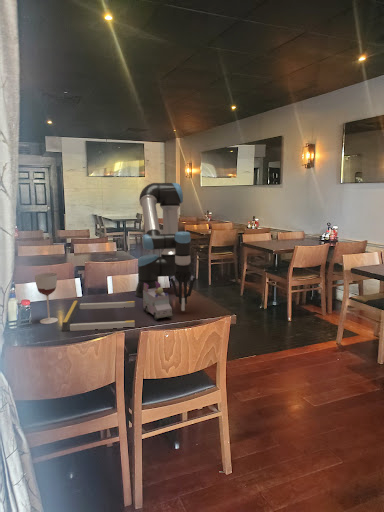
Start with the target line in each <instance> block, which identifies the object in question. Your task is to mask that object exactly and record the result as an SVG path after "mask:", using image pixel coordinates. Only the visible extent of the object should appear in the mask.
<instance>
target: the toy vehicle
mask: <svg viewBox="0 0 384 512" xmlns="http://www.w3.org/2000/svg"><path fill="white" fill-rule="evenodd" d="M158 282H159V281H158ZM158 282H156V281H155V283H156V287H155V288H153V289H148V286H149V285H147V284H146V283H144V290H143V298H142V303H143V305H142V307H143V308H144V311H145V312H146V313H147V314H149V313H150V314H151V315H153V318H154V320H155V321H157V320H160V319H162V318H167V319H169V318H170V317H172V316H173V308H172V306H171V305H170V304H171V299H169V293H168V292H164V288H163V287H161V283H160V282H159V283H158Z"/></svg>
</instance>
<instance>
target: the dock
mask: <svg viewBox="0 0 384 512" xmlns="http://www.w3.org/2000/svg"><path fill="white" fill-rule="evenodd" d="M135 302H136V301H135V300H131V301H130V300H129V301H117V302H115V301H112V302H109V301H108V302H89V303H87V302H86V303H80V304H79V300H74V301H73V302H72V303H71V306H70V308H69V310H68V312H67V314H66V316H65V318H64V319H63V320H62V332H68V331H69V332H74V331H75V332H76V331H95V329H98V330H111V329H112V330H114V329H113V328H117V329H124V328H123V327H135V325H136V323H135V320H134V319H133V320H124V321H101V322H100V321H99V322H79V323H73V321H74V318H75V316H76V314H77V313H78V310H97V309H98V310H99V309H121V308H122V309H123V308H124V307H125V308H135V307H136V303H135Z"/></svg>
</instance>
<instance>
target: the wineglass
mask: <svg viewBox="0 0 384 512" xmlns="http://www.w3.org/2000/svg"><path fill="white" fill-rule="evenodd" d="M34 280H35V284H36V289H37V291H38V292H39V294H41V295H44V296H46V307H47V317H46V318H43V319H40V320H39V323H41V324H43V325H44V324H46V325H48V324H53V323H56V322H59V318H56V317H51V316H50V315H51V314H50V301H49V300H50V299H49V295H51V294H54V292H55V291H56V289H57V283H58V275H57V273H54V272H45V273H40V274H36V275H34Z"/></svg>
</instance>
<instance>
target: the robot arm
mask: <svg viewBox="0 0 384 512" xmlns="http://www.w3.org/2000/svg"><path fill="white" fill-rule="evenodd" d="M138 199H139V205H140V206H141V209H142V217H143V224H144V232H145V234H143V235H142V239H141V240H142V248H143V249H144V250H149V251H150V250H163V251H162V252H160V253H161V255H160V256H159V255H158V254H156V253H155V254H152V253H150V254H144V255H142V256H140V257H138V259H137V280H138V281H137V284H136V288H135V293H134V294H135V296H136V297H138V298H142V299H143V290H144V283H146V284H147V285H149V286H148V289H153V288H155V287H156V283H155V281H156V282H158V283H160V282H159V277H161V278H162V277H169V279H170V282H171V285H172V287H173V291H174V295H175V297H176V298H178V303H179V305H180V310H181V311H182V312H185V311H186V308H185V307H186V304H187V303H188V298H189V297H191V295H192V292H193V287H194V283H195V281H196V279H197V278H196V277H195V276H194V275H192V273H191V243H192V242H191V240H192V238H191V233H190V232H189V231H179V221H178V220H179V217H178V212H179V211H178V210H179V209H180V207H181V204H183V202H184V195H183V189H182V186H181V184H179V183H176V182H151V183H149V184H147V185H146V186H145V187H144V188H143V189H142V190H141V192H140V194H139V198H138ZM157 204H159V208H161V209H162V225H163V226H162V231H163V232H162V233H161V229H160V223H159V217H158V210H157ZM189 280H190V282H189ZM176 281H177V282H178V290H177V286H176V283H175V282H176ZM188 282H189V286H188Z"/></svg>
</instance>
